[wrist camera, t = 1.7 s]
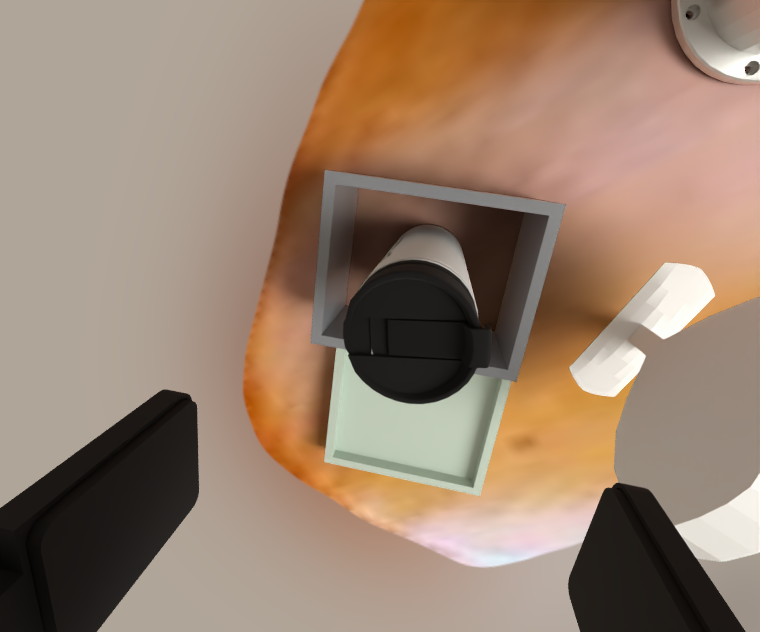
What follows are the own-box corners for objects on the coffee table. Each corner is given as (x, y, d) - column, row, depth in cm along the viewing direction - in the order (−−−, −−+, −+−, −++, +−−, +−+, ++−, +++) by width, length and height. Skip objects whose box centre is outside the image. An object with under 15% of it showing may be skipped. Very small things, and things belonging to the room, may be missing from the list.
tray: (343, 329, 39) (337, 337, 37) (510, 360, 37) (514, 370, 35) (329, 448, 43) (324, 462, 41) (478, 480, 42) (479, 495, 40)
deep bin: (351, 172, 34) (324, 169, 27) (538, 199, 33) (566, 204, 25) (336, 311, 38) (310, 342, 31) (501, 341, 37) (516, 381, 29)
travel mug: (466, 294, 36) (489, 417, 17) (392, 293, 37) (339, 409, 18) (468, 223, 34) (498, 273, 15) (391, 224, 35) (329, 273, 16)
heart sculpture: (598, 412, 37) (725, 600, 21) (554, 383, 37) (645, 550, 20) (735, 275, 32) (1056, 378, 15) (684, 241, 32) (952, 308, 15)
